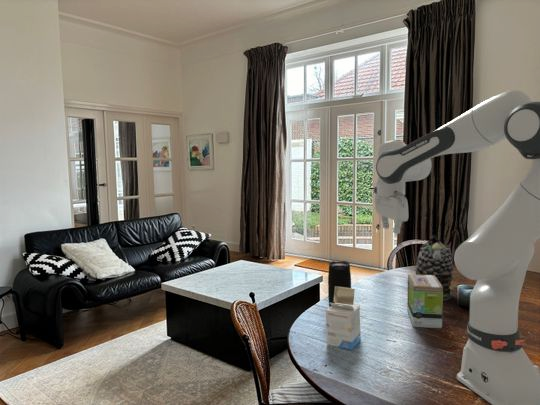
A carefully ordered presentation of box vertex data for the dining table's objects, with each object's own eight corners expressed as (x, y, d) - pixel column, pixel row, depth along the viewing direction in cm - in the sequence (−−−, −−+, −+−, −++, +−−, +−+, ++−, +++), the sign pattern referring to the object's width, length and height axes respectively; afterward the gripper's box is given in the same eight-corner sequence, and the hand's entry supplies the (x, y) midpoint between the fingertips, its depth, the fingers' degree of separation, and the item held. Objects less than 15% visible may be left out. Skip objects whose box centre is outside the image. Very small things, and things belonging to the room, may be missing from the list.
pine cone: (460, 303, 160) (461, 241, 157) (420, 302, 163) (420, 241, 160) (446, 286, 180) (447, 231, 178) (411, 286, 183) (411, 231, 180)
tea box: (443, 329, 138) (443, 286, 136) (412, 327, 140) (412, 286, 138) (434, 312, 153) (435, 273, 151) (406, 311, 155) (406, 273, 153)
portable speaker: (350, 308, 159) (350, 259, 157) (352, 318, 150) (351, 266, 148) (328, 308, 160) (327, 259, 158) (328, 317, 151) (327, 266, 149)
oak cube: (353, 305, 127) (354, 289, 128) (337, 303, 127) (339, 287, 128) (348, 303, 132) (349, 288, 133) (333, 301, 132) (335, 286, 132)
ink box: (361, 339, 132) (360, 300, 131) (351, 350, 125) (351, 308, 124) (336, 334, 137) (335, 296, 135) (326, 344, 130) (325, 304, 128)
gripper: (413, 192, 125) (413, 236, 126) (389, 187, 145) (389, 225, 147) (394, 193, 124) (394, 237, 126) (371, 188, 145) (372, 226, 146)
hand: (391, 230), depth 137 cm, fingers open, 8 cm apart
